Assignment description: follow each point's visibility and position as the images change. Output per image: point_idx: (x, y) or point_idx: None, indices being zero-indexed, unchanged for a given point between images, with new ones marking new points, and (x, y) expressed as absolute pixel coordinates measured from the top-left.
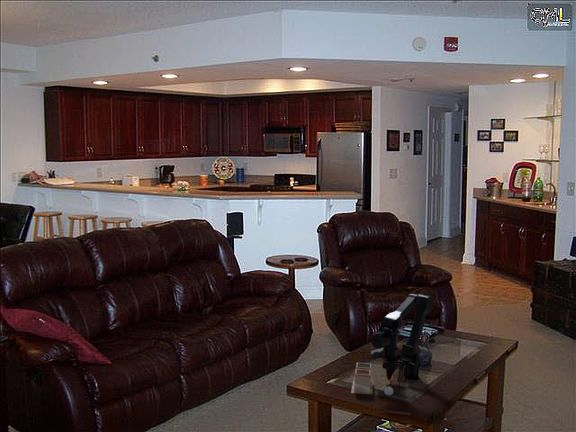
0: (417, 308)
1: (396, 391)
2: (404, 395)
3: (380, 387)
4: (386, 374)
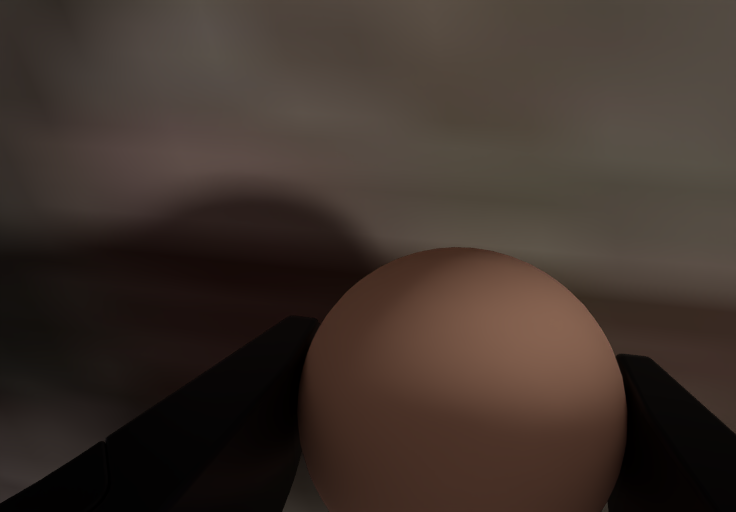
0: None
1: (133, 356)
2: (8, 444)
3: (251, 35)
4: (339, 377)
